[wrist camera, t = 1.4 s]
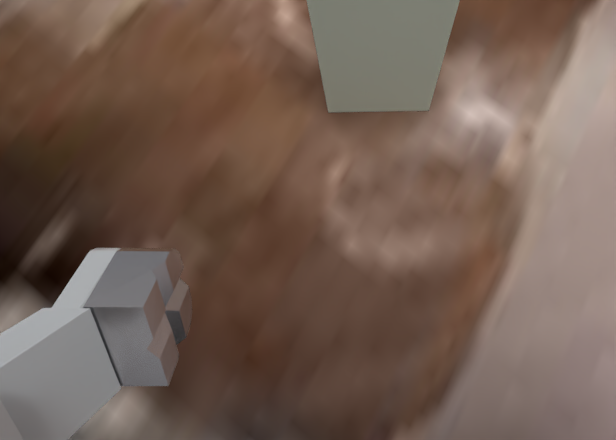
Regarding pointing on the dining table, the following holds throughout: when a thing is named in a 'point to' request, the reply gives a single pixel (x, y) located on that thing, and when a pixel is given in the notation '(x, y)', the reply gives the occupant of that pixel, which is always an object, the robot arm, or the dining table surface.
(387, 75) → the sage block
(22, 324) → the robot arm
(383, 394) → the dining table surface
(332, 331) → the dining table surface
